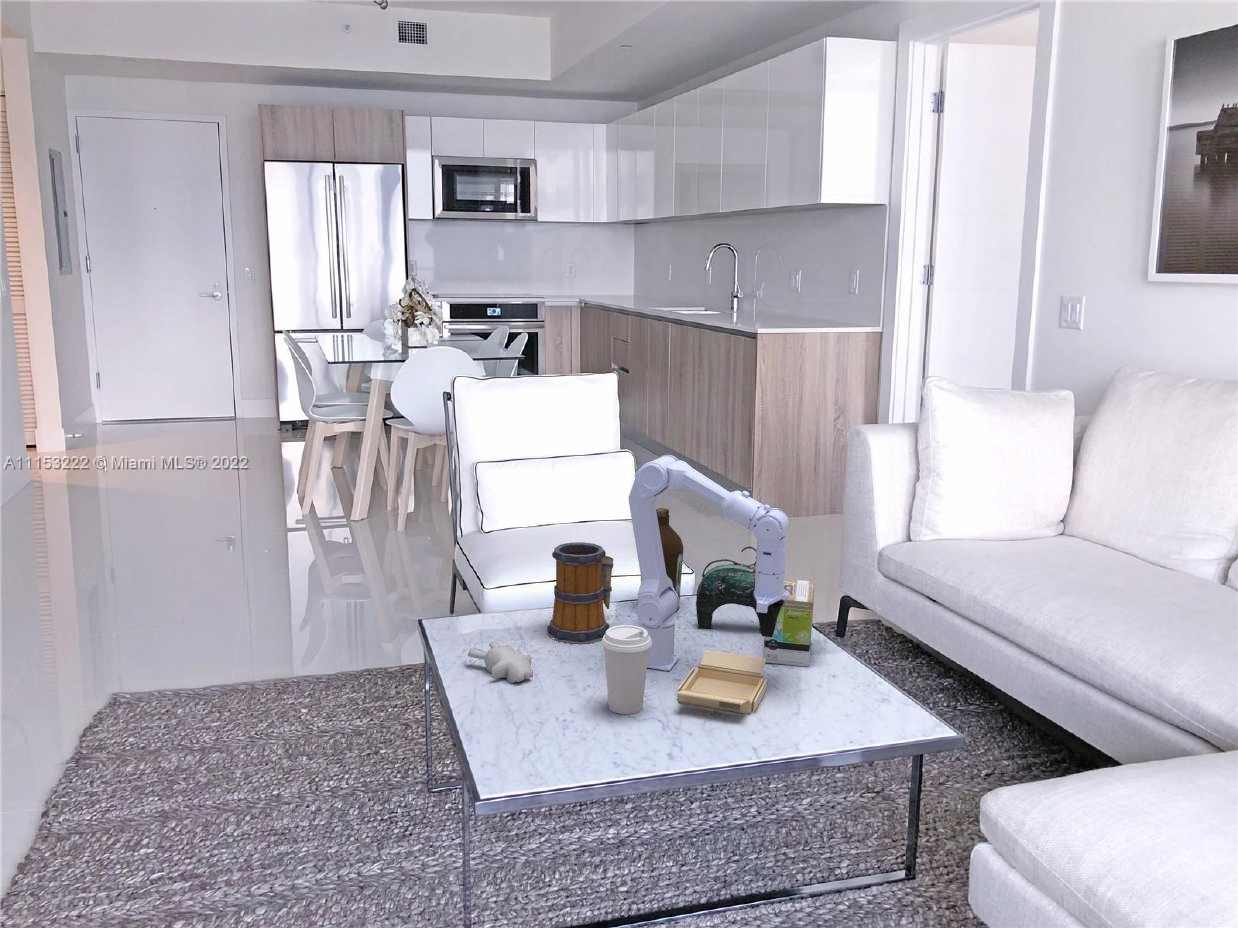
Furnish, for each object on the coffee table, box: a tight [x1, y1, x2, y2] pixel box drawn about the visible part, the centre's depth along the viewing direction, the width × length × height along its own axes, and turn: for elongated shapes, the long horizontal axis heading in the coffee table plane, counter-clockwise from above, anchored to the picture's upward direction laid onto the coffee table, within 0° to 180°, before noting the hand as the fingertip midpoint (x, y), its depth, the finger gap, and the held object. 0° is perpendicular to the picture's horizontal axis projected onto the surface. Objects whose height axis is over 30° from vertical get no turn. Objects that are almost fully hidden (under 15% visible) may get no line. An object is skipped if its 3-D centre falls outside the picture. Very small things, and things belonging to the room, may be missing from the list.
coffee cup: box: [600, 624, 652, 715], centre depth 188 cm, size 10×10×15 cm
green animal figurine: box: [695, 546, 761, 634], centre depth 229 cm, size 20×6×20 cm, turn 82°
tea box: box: [762, 578, 815, 667], centre depth 217 cm, size 15×10×15 cm
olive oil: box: [640, 507, 684, 613], centre depth 243 cm, size 11×11×25 cm
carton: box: [676, 664, 768, 715], centre depth 195 cm, size 15×13×3 cm
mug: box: [546, 541, 614, 645], centre depth 228 cm, size 19×14×20 cm
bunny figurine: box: [467, 641, 534, 684], centre depth 205 cm, size 10×5×15 cm
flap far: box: [700, 649, 767, 675], centre depth 203 cm, size 13×1×4 cm
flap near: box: [676, 690, 747, 705], centre depth 187 cm, size 13×1×4 cm
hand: (767, 635), depth 200 cm, fingers closed
